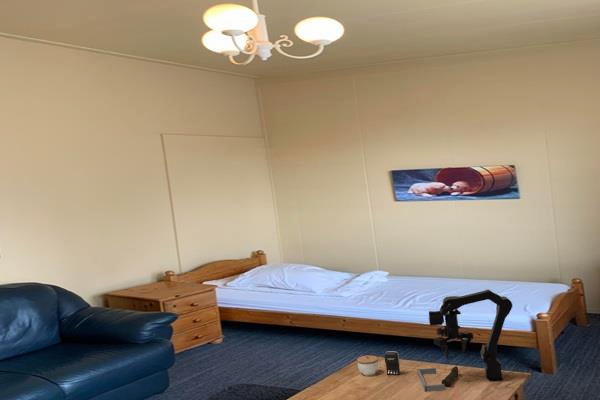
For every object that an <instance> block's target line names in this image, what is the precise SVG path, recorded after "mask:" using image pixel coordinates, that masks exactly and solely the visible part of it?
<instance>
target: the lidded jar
mask: <svg viewBox="0 0 600 400" xmlns="http://www.w3.org/2000/svg"><path fill="white" fill-rule="evenodd" d="M356 361H357V367H358V371H360V373H361V374H362V375H363V376H366V377H367V376H368V377H369V376H374V375H375V373H376V372H378V368H379V357H377V356H375V355H368V354H367V355H361V356H360V357H357V359H356Z"/></svg>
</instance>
